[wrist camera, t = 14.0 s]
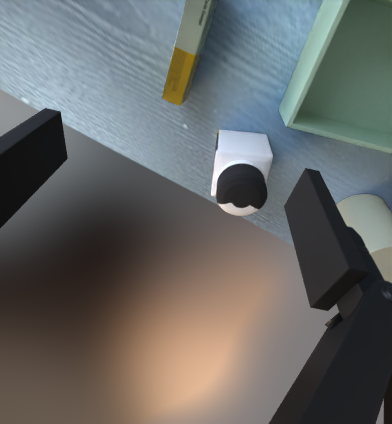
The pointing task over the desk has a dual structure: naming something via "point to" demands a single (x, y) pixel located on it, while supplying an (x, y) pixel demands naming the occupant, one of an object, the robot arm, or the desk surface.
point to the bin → (345, 75)
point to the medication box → (188, 49)
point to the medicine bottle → (241, 171)
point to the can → (371, 227)
